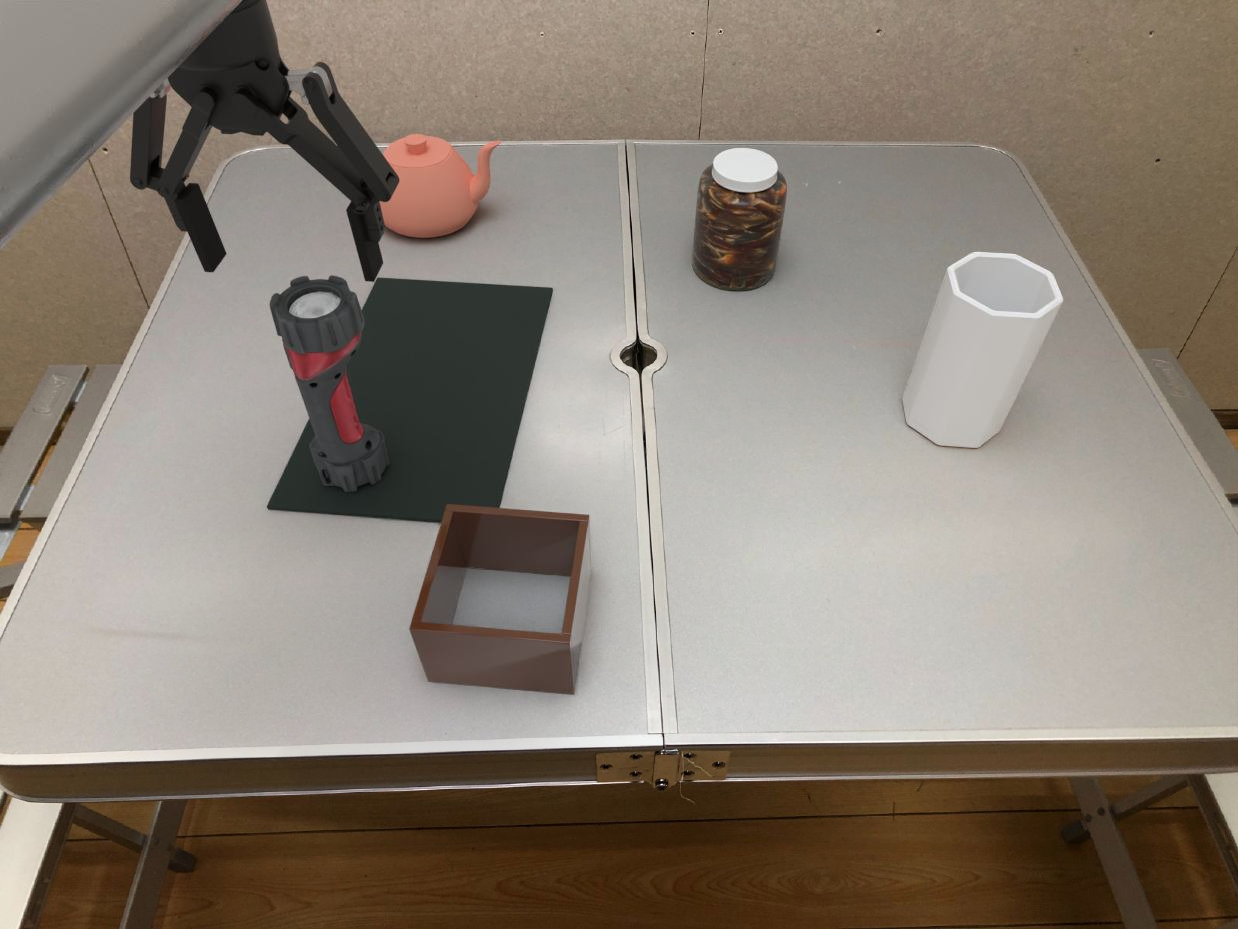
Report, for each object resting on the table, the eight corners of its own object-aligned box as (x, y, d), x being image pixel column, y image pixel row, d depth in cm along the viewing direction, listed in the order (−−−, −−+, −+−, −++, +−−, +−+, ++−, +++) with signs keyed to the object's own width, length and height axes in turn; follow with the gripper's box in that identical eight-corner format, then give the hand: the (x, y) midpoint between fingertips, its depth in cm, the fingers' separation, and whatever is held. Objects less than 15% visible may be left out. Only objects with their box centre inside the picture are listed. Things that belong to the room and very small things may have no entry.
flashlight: (417, 454, 92) (371, 281, 75) (378, 506, 87) (319, 333, 70) (357, 435, 94) (299, 262, 76) (316, 484, 89) (243, 311, 72)
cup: (914, 370, 101) (961, 238, 88) (1009, 401, 98) (1073, 268, 84) (888, 429, 95) (933, 295, 81) (988, 463, 91) (1054, 331, 77)
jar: (793, 264, 116) (811, 163, 105) (740, 302, 110) (754, 199, 99) (726, 231, 121) (737, 132, 110) (673, 266, 116) (679, 164, 104)
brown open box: (427, 682, 74) (408, 629, 67) (460, 560, 83) (446, 503, 76) (574, 695, 73) (569, 643, 67) (592, 571, 82) (589, 514, 75)
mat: (267, 509, 87) (266, 506, 87) (378, 280, 114) (377, 277, 113) (494, 527, 86) (494, 524, 85) (553, 290, 112) (552, 287, 112)
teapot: (515, 192, 129) (507, 113, 119) (502, 248, 119) (492, 167, 109) (374, 188, 129) (355, 110, 120) (348, 244, 119) (326, 163, 110)
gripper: (405, -25, 56) (452, 249, 71) (48, -38, 57) (171, 234, 73) (372, 18, 51) (430, 303, 66) (-18, 3, 52) (129, 285, 68)
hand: (294, 267), depth 70 cm, fingers open, 13 cm apart
